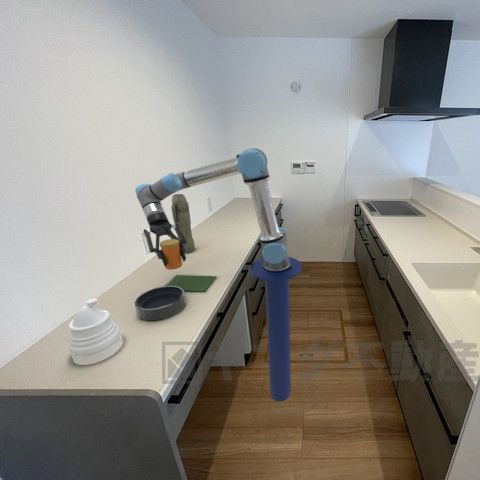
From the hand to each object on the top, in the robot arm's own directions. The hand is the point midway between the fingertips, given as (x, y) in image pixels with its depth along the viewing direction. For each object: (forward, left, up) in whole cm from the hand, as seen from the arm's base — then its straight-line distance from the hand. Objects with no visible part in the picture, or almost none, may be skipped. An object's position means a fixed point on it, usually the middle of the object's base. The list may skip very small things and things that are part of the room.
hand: (175, 262), depth 109 cm
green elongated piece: (+22, -51, -17) cm, 58 cm away
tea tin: (+3, -2, -3) cm, 5 cm away
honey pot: (+12, +31, -17) cm, 38 cm away
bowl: (+4, +8, -17) cm, 19 cm away
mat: (+2, -12, -17) cm, 21 cm away
